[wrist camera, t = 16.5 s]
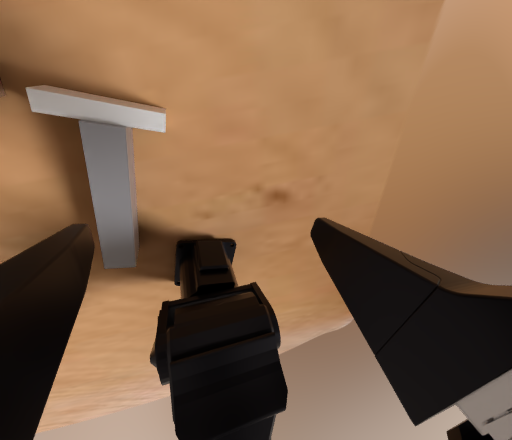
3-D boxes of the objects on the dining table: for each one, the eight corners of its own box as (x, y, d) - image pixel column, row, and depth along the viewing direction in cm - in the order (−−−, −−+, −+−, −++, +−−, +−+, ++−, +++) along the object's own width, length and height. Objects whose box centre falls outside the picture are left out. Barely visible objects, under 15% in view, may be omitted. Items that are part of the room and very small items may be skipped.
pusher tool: (164, 245, 23) (163, 265, 21) (82, 247, 20) (71, 270, 18) (165, 108, 16) (165, 115, 14) (45, 84, 14) (19, 88, 11)
